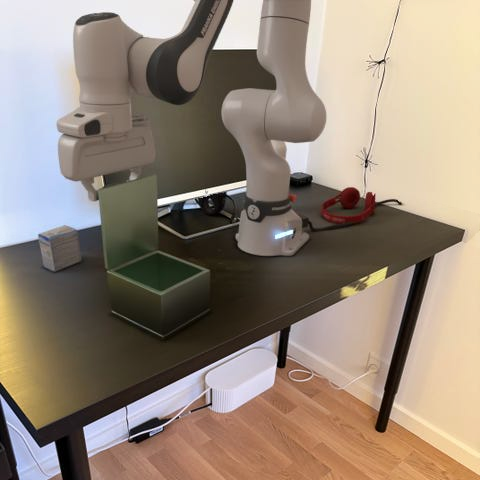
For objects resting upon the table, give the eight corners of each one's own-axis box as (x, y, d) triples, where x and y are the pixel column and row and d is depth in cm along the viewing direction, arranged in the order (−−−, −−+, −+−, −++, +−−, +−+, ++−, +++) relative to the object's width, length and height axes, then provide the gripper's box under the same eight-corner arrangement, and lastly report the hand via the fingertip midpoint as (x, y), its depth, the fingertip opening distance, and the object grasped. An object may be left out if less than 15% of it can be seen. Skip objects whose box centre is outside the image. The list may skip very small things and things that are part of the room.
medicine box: (70, 257, 122) (65, 224, 117) (82, 261, 120) (77, 228, 115) (43, 267, 116) (37, 233, 112) (55, 272, 114) (49, 238, 110)
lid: (157, 175, 95) (138, 169, 97) (100, 189, 85) (81, 182, 88) (158, 248, 103) (141, 241, 106) (107, 269, 94) (89, 260, 96)
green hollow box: (210, 312, 102) (210, 270, 96) (163, 340, 92) (161, 295, 87) (159, 290, 109) (157, 250, 104) (111, 314, 99) (106, 271, 94)
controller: (219, 219, 149) (220, 187, 144) (190, 210, 156) (189, 179, 150) (228, 216, 152) (229, 184, 147) (198, 207, 159) (198, 176, 153)
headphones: (345, 201, 169) (312, 222, 157) (346, 181, 164) (313, 202, 153) (383, 212, 160) (352, 235, 149) (386, 191, 156) (354, 214, 145)
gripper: (138, 110, 96) (142, 180, 103) (47, 122, 82) (60, 203, 89) (160, 115, 93) (163, 186, 100) (70, 128, 78) (82, 210, 86)
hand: (114, 194), depth 94 cm, fingers open, 8 cm apart
